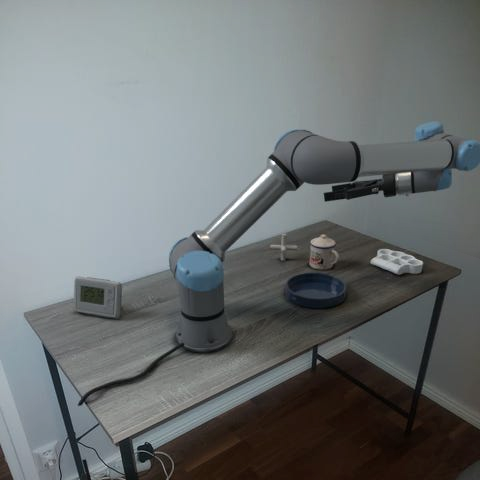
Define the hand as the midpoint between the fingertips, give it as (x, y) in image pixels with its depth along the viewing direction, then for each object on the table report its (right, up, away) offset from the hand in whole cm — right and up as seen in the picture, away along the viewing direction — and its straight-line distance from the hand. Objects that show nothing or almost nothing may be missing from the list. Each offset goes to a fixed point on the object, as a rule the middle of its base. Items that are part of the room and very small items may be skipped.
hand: (328, 193), depth 148 cm
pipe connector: (-13, -19, +23) cm, 33 cm away
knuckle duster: (+28, -22, +17) cm, 39 cm away
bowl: (-5, -33, -1) cm, 34 cm away
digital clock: (-72, -39, -10) cm, 83 cm away
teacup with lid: (+2, -22, +18) cm, 28 cm away
